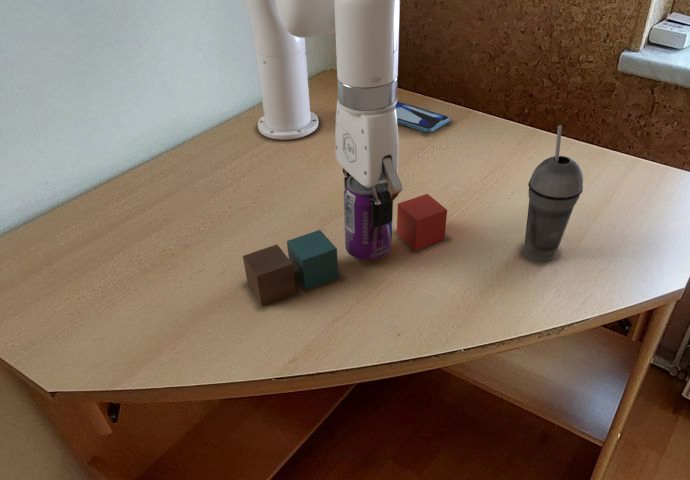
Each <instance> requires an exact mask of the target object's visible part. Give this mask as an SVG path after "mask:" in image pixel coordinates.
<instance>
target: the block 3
mask: <svg viewBox="0 0 690 480" xmlns="http://www.w3.org/2000/svg"><path fill="white" fill-rule="evenodd" d="M396 214H397V215H396V234H397V235H398V236H399V237H400V238H402V239H403V240H404V241H405V242H406V243H407V244H408V245H409V246H410V247H411V248H412V249H413V250H414V251H418V250H420V249H423V248H425V247H429V246H431V245H434V244H436V243H438V242H442V241H444V240H445V239H446V238H445V236H446V228H447V227H446V226H447V218H448V209H447V208H446V207H444V206H443V205H442V204H441V203H440V202H439V201H437V200H436V199H435V198H433V196H431V195H430V194H429V193H424V194H422V195H418V196H416V197H413V198H410V199H407V200H404V201H402V202H399V203H397V213H396Z"/></svg>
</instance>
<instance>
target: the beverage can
mask: <svg viewBox="0 0 690 480" xmlns="http://www.w3.org/2000/svg"><path fill="white" fill-rule="evenodd" d="M382 178H385V177H384V174H381V175H380V178H379V179H382ZM378 189H379V193H380V194H381V193H382V192H384V191H386V186H385V183H384V184H381V185H378ZM372 202H374V199H373V195H372V190H371V188H367V187H365V186H363V185H362V184H360V183H359V182H358V181H357V180H356V179H355V178H354V177H352V176H351V175H350V176H349V177H348V179H347V186H346V188H345V187H344V189H343V212H344V216H343V217H344V240H345V243H344V244H345V250H346V252H347V254H349V256H351V257H352V258H354V259H357V260H362V261H375V260H378V259H379V260H380V259H381V258H384V257H385V256H387V255H388V254H389V253H390V252H391V250H392V247H393V221H392V222H391V223H388V224H385V225H382V226H380V227H377V228H373V227H372V226H371V203H372Z"/></svg>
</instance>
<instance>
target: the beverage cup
mask: <svg viewBox="0 0 690 480" xmlns="http://www.w3.org/2000/svg"><path fill="white" fill-rule="evenodd" d="M562 131H563V126H562V125H561V124H559V125H558V126H557V132H556V142H555V152H554V156H550V157H548V158H546V159H544V160H542V161H541V162H540V163H539V164H538V165H537V166H536V167H535V169H534V170H533V172H532V174H531V177H530V178H529V181H528V184H527V185H528V198H529V199H528V207H527V208H528V209H527V216H526V217H527V218H526V227H525V235H524V251H523V252H524V255H525V256H526V258H528V259H529V260H531V261H533V262H538V263H546V262H550V261H552V260H553V259H554V258H555V256H556V254H557V251H558V250H559V247H560V245H561V242H562V239H563V237H564V234H565V231H566V228H567V226H568V224H569V220H570V218H571V216H572V212H573V210H574V208H575V205H576V204H577V203H578V200H579V199H580V196H581V194H582V193H583V190H584V174H583V171H582V169H581V167H580V165H579V164H578V163H577V162H576V161H575V160H574V159H572V158H571V157H568V156H565V155H560V151H561V141H562Z"/></svg>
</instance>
